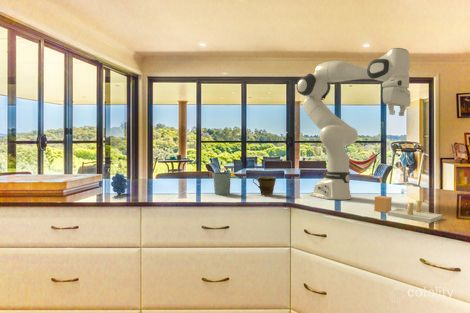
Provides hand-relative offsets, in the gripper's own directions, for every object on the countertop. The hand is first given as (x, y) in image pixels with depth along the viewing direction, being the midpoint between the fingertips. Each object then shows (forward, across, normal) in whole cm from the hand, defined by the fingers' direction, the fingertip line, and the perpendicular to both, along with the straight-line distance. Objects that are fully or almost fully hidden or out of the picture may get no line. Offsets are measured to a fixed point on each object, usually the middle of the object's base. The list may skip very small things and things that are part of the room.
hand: (396, 115), depth 144 cm
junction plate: (+42, +11, +13) cm, 46 cm away
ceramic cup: (+43, +24, -61) cm, 78 cm away
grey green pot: (+43, +40, -78) cm, 98 cm away
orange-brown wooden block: (+42, +11, 0) cm, 44 cm away
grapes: (+43, +87, -108) cm, 145 cm away
